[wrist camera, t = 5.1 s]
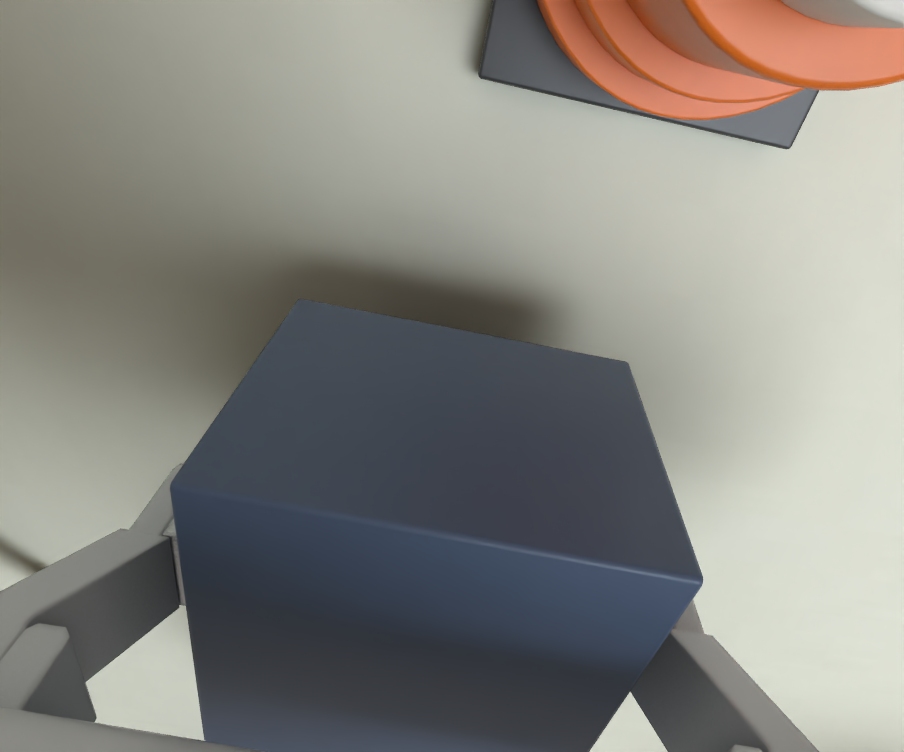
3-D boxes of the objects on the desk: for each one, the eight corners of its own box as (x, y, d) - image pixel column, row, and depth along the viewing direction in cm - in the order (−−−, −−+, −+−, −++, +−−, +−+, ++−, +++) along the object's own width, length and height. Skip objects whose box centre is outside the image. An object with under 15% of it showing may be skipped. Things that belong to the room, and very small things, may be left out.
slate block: (297, 296, 11) (166, 483, 6) (629, 360, 11) (707, 582, 7) (290, 526, 14) (202, 743, 10) (541, 571, 14) (557, 802, 10)
